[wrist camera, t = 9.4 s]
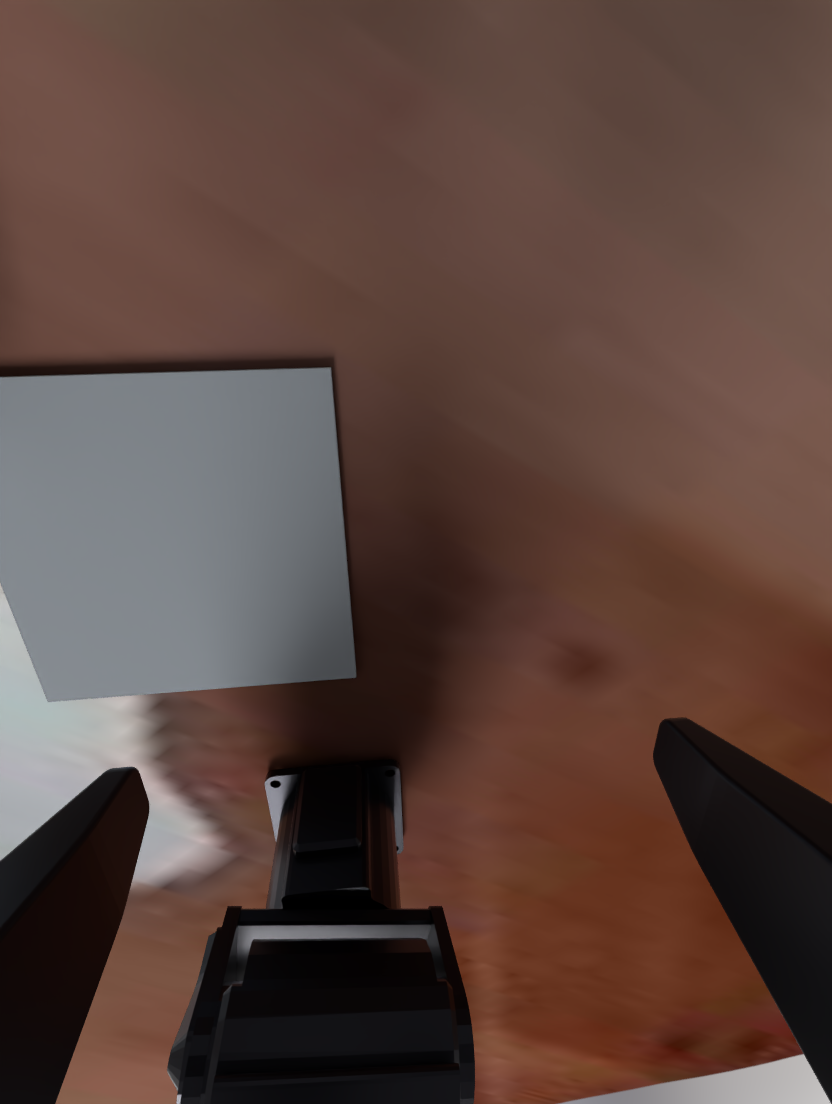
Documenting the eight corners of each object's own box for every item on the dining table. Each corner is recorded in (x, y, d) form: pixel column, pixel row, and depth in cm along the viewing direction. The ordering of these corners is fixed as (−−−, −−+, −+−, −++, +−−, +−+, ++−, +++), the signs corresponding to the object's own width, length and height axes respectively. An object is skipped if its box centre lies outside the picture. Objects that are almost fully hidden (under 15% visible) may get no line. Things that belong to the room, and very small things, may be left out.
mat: (356, 671, 23) (356, 677, 23) (53, 695, 22) (47, 702, 22) (331, 367, 18) (330, 367, 17) (-71, 378, 17) (-81, 379, 16)
